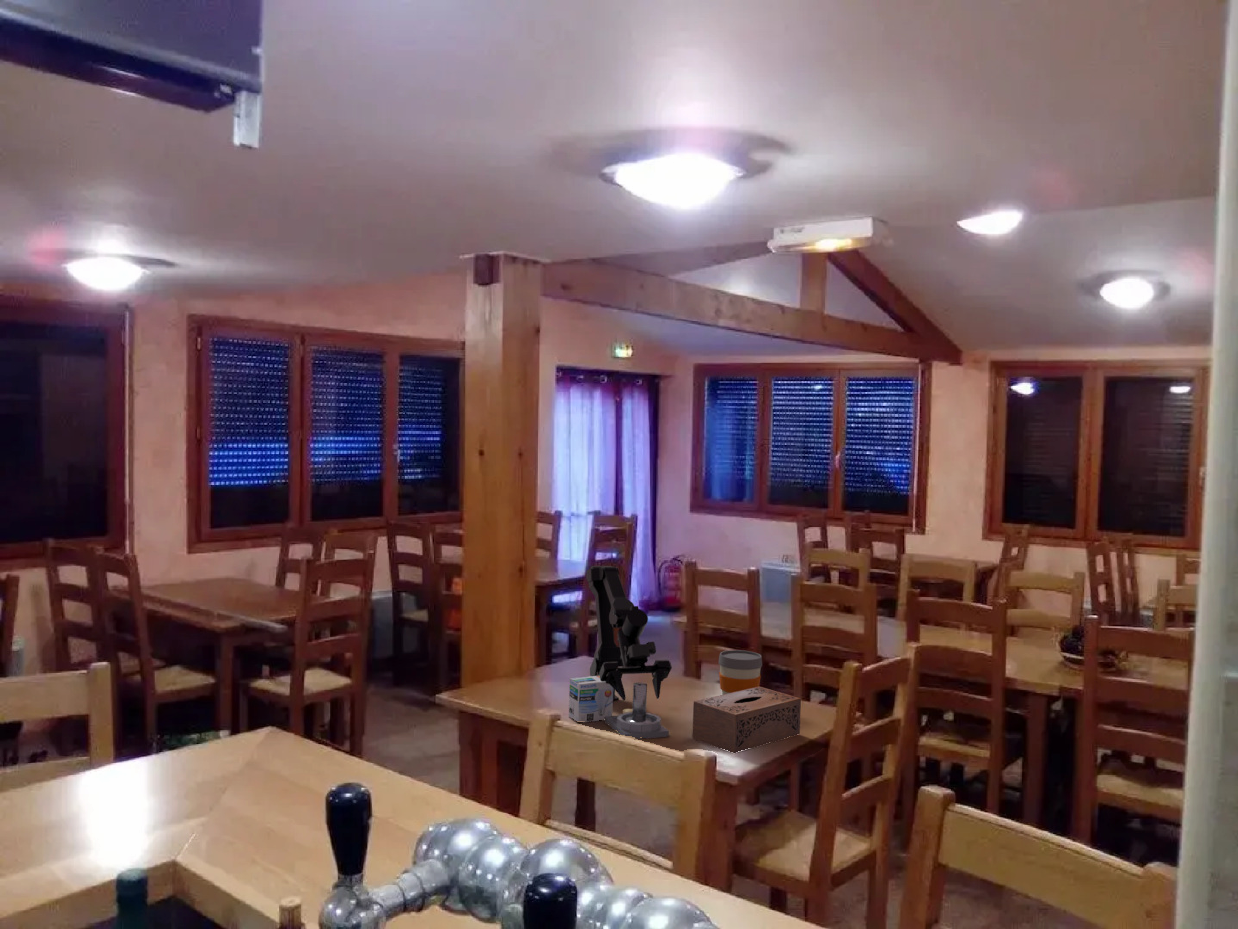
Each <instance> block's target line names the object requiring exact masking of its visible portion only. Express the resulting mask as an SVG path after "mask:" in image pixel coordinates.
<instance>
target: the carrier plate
mask: <svg viewBox="0 0 1238 929" xmlns="http://www.w3.org/2000/svg"><path fill="white" fill-rule="evenodd" d="M631 716H632V708H624V709H623V710H622V713H621V714H618V715H612V716H605V720H603V721H605V722H606V723H607V724H609V725H610V726H611V727H612V728H611V727H610V726H609V725H608V726H609V727H610V728H611V729H612V730H613V729H614V730H617V731H618V733H620V734H621V735H625V736H632V737H635V738H638V739H637V740H643V739H642V738H646V739H657V738H667V737H669V736H670V735H669V733H670V731H669V730H668V729H667V728H666V727H664V726H663V725H662V718H661V717H660V716H659V715H657V714H653V713H649V712H646V717H648V718H650V719H652V723H644V724H638V723H630V722H627V721H626V718H628V717H631ZM605 722H604V723H605ZM606 723H605V724H606ZM607 724H606V725H607ZM614 730H613V731H614ZM618 733H617V734H618ZM640 737H642V738H640Z"/></svg>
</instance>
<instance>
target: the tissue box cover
mask: <svg viewBox="0 0 1238 929" xmlns="http://www.w3.org/2000/svg"><path fill="white" fill-rule="evenodd" d="M801 704H802V698H801V697H797V696H793V695H791V694H787V693H783V692H779V691H775V690H773V689H770V688H766V687H763V686H759V687H755V688H750V689H746V690H742V691H737V692H733V693H728V694H724V695H722V694H721V695H720V694H719V695H716V696H711V697H708V698H702V699H699V700H694V701H693V705H692V706H693V707H692V709H693V712H692V713H693V714H692V737H691V738H692V739H693V740H695V741H698V742H701V743H704V744H706V745H709V746H711V745H712V746H711V747H714V746H715V747H714V748H717V747H718V748H717V749H720V748H722V749H725V750H728V751H730V752H729V753H731V752H733V753H735V754H737V753H736V752H738V751H741V750H745V749H748V748H752V749H755V748H758V747H757V746H759V747H761V746H760V745H762V746H764V745H763V744H766V743H769V742H773V743H776V742H779V741H778V740H780V741H782V740H781V739H783V740H785V739H784V738H787V737H789V736H794V735H797V734H800V732H801V731H800V730H801V711H802V709H801V707H802V705H801ZM797 736H798V735H797ZM794 737H795V736H794ZM787 739H788V738H787ZM775 741H776V742H775ZM769 744H770V743H769ZM766 745H767V744H766ZM754 747H755V748H754ZM722 749H721V750H722ZM725 750H724V751H725ZM748 750H749V749H748ZM728 751H727V752H728ZM745 751H746V750H745ZM733 753H732V754H733ZM738 753H739V752H738Z"/></svg>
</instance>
